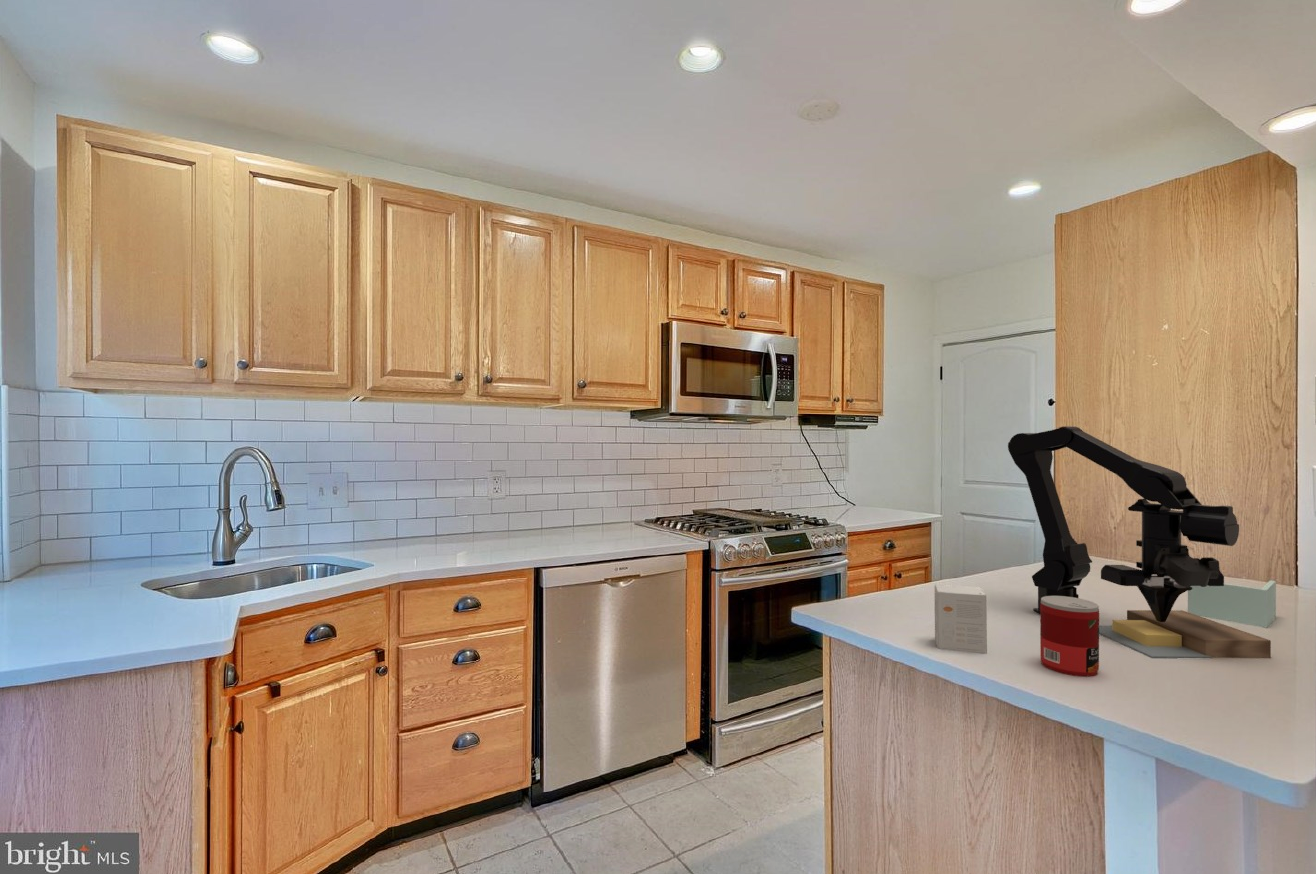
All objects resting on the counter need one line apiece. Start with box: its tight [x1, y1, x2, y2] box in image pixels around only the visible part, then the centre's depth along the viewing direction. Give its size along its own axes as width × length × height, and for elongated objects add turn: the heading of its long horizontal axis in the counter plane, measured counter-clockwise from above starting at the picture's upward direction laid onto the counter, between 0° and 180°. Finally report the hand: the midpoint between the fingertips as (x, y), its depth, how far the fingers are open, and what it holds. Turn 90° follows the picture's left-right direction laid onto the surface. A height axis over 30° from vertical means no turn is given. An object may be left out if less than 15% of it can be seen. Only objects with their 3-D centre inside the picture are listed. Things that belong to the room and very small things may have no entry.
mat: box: [1099, 625, 1212, 659], centre depth 114 cm, size 10×17×1 cm, turn 179°
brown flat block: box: [1126, 609, 1272, 659], centre depth 115 cm, size 11×18×3 cm, turn 179°
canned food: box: [1039, 596, 1100, 677], centre depth 101 cm, size 8×8×11 cm
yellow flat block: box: [1111, 619, 1182, 647], centre depth 115 cm, size 6×9×2 cm, turn 177°
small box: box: [934, 584, 988, 654], centre depth 111 cm, size 8×6×10 cm
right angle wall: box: [1187, 580, 1277, 629], centre depth 131 cm, size 12×12×8 cm
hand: (1160, 621), depth 115 cm, fingers closed
